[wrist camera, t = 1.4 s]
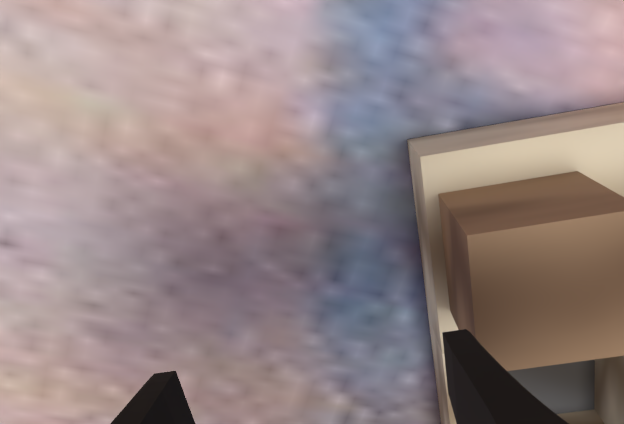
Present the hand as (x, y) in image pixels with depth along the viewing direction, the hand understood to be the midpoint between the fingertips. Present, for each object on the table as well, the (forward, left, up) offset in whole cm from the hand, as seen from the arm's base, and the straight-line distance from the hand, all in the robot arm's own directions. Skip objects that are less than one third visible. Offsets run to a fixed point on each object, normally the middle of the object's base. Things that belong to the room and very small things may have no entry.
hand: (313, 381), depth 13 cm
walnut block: (0, -7, -7) cm, 10 cm away
